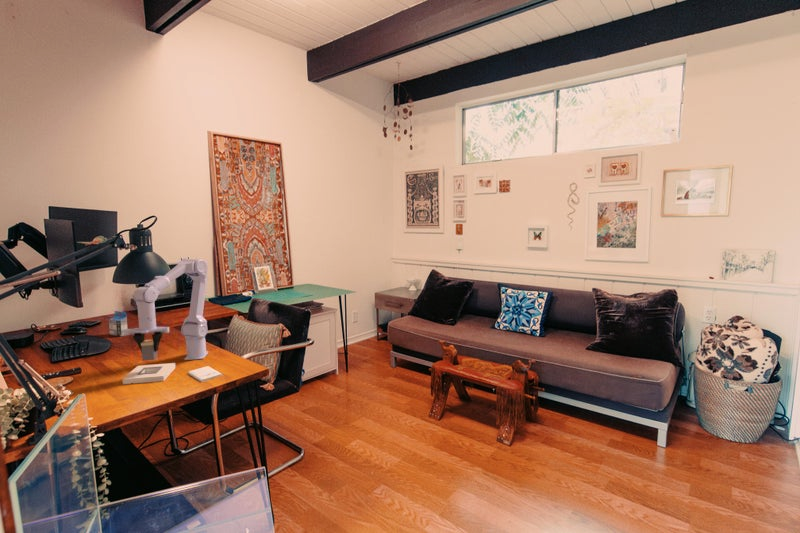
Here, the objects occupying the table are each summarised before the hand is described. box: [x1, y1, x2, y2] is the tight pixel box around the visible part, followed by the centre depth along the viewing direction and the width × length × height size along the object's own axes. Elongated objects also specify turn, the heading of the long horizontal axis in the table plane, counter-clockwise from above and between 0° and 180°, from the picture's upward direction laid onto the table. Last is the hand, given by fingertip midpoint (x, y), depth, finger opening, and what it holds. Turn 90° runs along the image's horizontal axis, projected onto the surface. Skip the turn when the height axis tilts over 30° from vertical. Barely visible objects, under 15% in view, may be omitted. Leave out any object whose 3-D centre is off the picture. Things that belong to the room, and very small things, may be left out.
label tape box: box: [108, 310, 129, 337], centre depth 214 cm, size 9×4×12 cm, turn 71°
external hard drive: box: [187, 365, 223, 383], centre depth 161 cm, size 2×8×12 cm
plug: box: [141, 339, 159, 361], centre depth 159 cm, size 4×4×7 cm
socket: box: [122, 362, 177, 385], centre depth 160 cm, size 14×14×2 cm
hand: (149, 351), depth 160 cm, fingers closed on plug, 4 cm apart
